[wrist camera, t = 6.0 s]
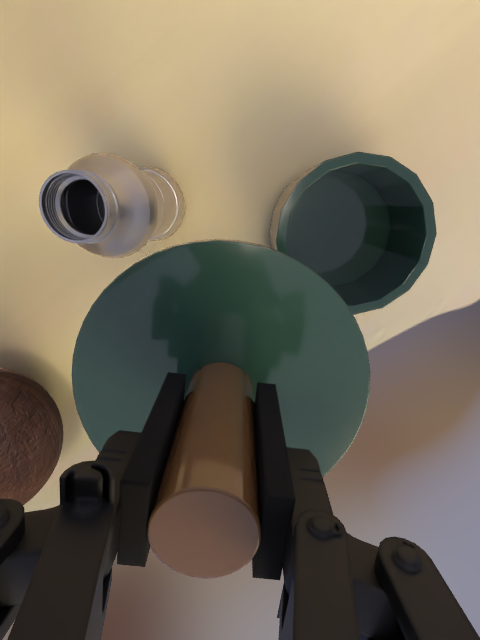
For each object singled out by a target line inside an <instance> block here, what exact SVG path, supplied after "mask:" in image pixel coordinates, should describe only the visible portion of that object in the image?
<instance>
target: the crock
mask: <svg viewBox="0 0 480 640" xmlns="http://www.w3.org/2000/svg"><path fill="white" fill-rule="evenodd" d="M435 237H436V225H435V216H434V207H433V202H432V200H431V198H430V196H429V195H428V193H427V191H426V190H425V188H424V186H423V184H422V183H421V181H420V179H419V178H418V176H417V175H416V174H415V173H414V172H412V171H411V170H409V169H408V168H406V167H405V166H404V165H402V164H401V163H399V162H398V161H396V160H395V159H393V158H392V157H389V156H383V155H376V154H370V153H363V152H355V153H351V154H348V155H344V156H340V157H337V158H333V159H329V160H326V161H324V162H322V163H320V164H318V165H316V166H314V167H313V168H311V169H309V170H307V171H306V172H305V173H303V174H302V175H301V176H299V177H298V178H297V179H295V180H294V181H293V182H292V183H291V184H289V185H288V186H287V187H286V189H285V191H284V192H283V194H282V195H281V196H280V198H279V200H278V202H277V204H276V206H275V208H274V210H273V215H272V219H271V227H270V239H271V245H272V249H275V250H278V251H280V252H283V253H285V254H287V255H289V256H291V257H293V258H295V259H297V260H299V261H300V262H302V263H303V264H305V265H306V266H308V267H309V268H311V269H312V270H314V271H315V272H316V273H317V274H318V275H319V276H321V277H322V278H323V279H324V280H325V281H326V282H327V283H328V284H330V285H331V286H332V287H333V289H334V290H335V291H336V292H337V293H338V294H339V296H340V297H341V298H342V299H343V300H344V302H345V303H346V305H347V306H348V308H349V309H350V311H351V313H352V314H353V315H355V314H359V313H363V312H367V311H371V310H376V309H380V308H383V307H385V306H386V305H388V304H389V303H391V302H392V301H394V300H395V299H397V298H398V297H400V296H401V295H403V294H404V293H406V292H407V291H408V290H409V289H410V288H411V287H412V285H413V284H414V283H415V281H416V280H417V279H418V277H419V276H420V274H421V273H422V272H423V270H424V269H425V268H426V266H427V264H428V262H429V258H430V255H431V251H432V248H433V244H434V241H435Z"/></svg>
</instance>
